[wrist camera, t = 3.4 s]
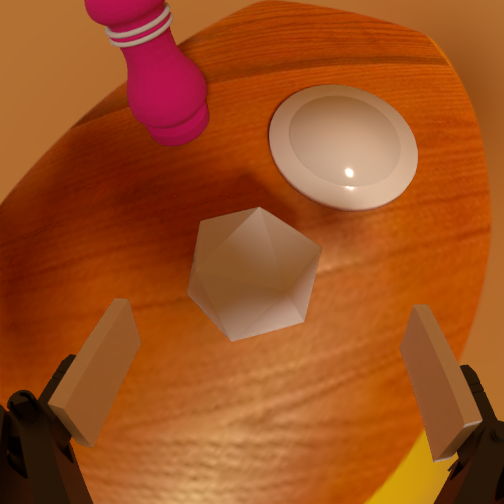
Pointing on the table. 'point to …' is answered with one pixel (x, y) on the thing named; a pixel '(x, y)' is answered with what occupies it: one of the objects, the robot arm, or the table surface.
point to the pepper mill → (155, 69)
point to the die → (252, 273)
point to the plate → (343, 147)
